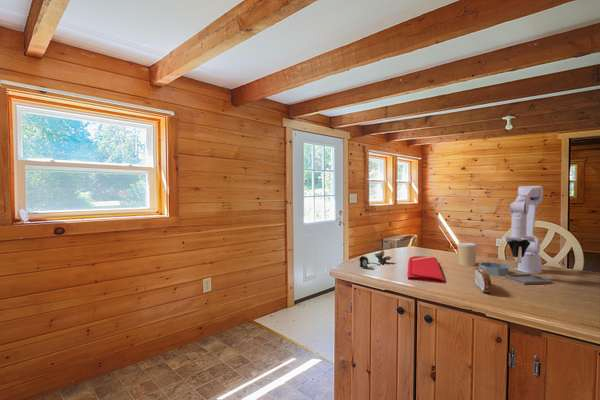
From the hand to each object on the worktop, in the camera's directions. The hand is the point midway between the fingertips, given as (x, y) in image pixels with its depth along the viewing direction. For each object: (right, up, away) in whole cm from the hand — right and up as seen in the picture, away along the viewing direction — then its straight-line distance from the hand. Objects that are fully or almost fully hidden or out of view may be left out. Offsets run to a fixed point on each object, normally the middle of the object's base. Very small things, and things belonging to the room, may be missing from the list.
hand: (518, 256), depth 142 cm
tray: (+2, -11, -3) cm, 11 cm away
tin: (-25, -11, -14) cm, 31 cm away
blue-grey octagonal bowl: (-5, -10, +10) cm, 15 cm away
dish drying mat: (-38, -11, +16) cm, 42 cm away
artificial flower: (-60, -10, +28) cm, 67 cm away
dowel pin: (0, -3, 0) cm, 3 cm away
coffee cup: (-10, -10, +26) cm, 29 cm away
